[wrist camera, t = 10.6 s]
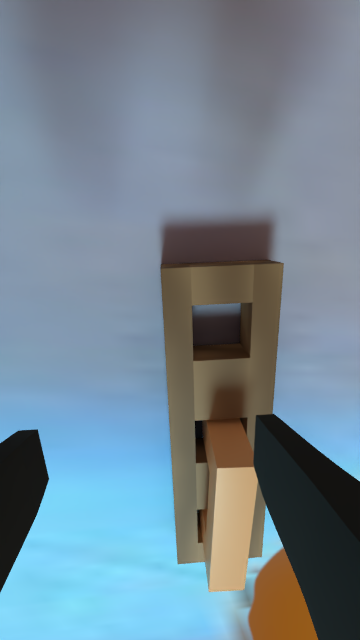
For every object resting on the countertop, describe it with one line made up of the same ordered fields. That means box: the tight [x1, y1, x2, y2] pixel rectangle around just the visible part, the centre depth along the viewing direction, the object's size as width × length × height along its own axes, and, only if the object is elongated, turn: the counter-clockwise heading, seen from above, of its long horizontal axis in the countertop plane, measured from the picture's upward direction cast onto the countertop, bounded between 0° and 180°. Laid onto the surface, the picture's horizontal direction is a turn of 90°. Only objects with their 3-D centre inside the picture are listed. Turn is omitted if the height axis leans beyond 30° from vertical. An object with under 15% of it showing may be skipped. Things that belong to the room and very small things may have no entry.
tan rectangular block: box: [199, 418, 258, 592], centre depth 19 cm, size 2×10×6 cm, turn 179°
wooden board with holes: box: [161, 260, 284, 564], centre depth 20 cm, size 7×24×2 cm, turn 2°
